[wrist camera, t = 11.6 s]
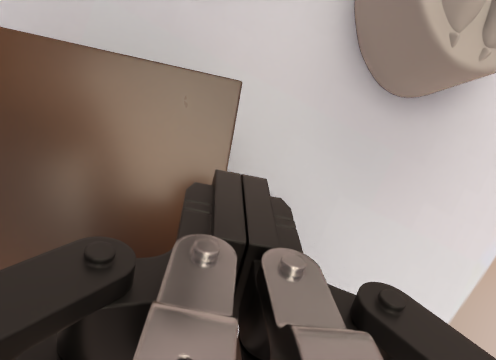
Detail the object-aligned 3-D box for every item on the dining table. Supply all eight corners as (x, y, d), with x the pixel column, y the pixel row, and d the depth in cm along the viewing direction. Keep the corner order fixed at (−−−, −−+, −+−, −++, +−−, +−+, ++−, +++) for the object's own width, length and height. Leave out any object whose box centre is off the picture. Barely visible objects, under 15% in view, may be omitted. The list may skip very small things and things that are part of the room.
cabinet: (174, 354, 27) (179, 441, 18) (-63, 331, 24) (-194, 419, 15) (217, 113, 27) (242, 81, 19) (-11, 65, 25) (-109, 1, 16)
